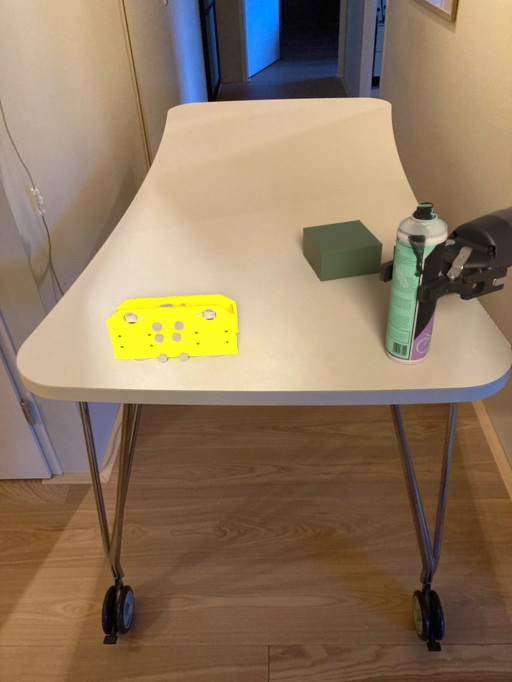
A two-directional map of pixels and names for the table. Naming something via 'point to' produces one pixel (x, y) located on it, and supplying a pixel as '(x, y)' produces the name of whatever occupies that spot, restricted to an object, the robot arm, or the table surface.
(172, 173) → the table surface
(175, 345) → the yellow toy chassis
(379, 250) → the sage block
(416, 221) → the spray can
